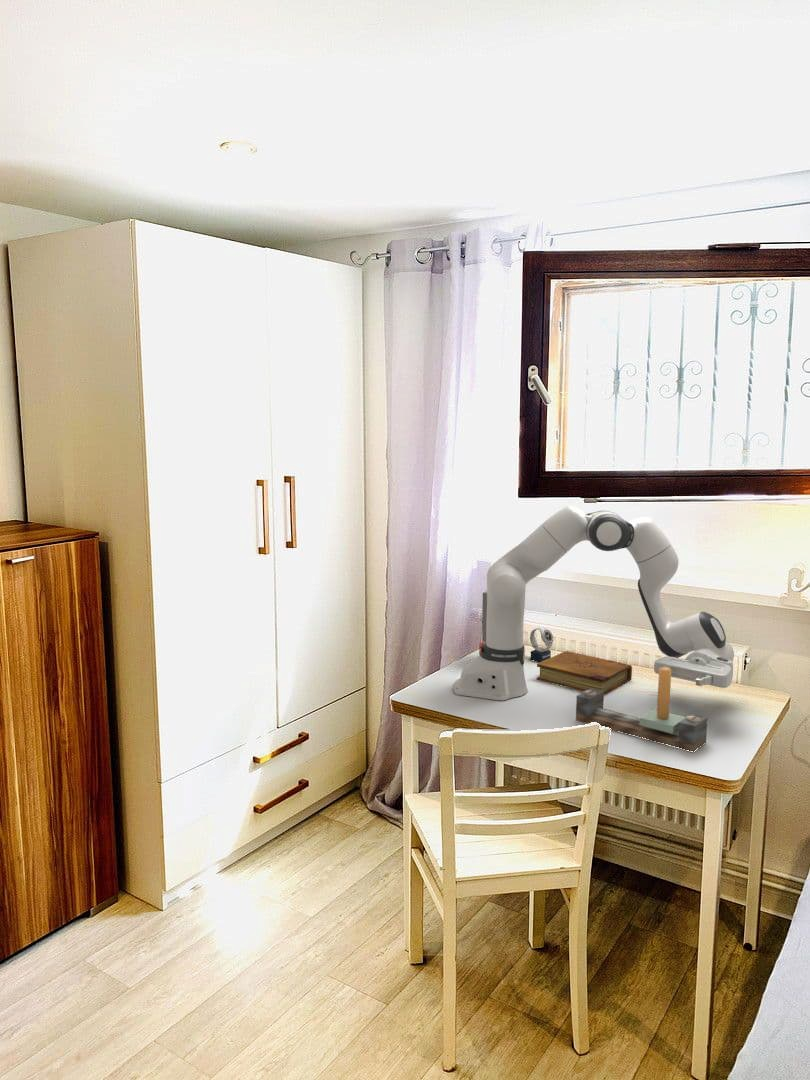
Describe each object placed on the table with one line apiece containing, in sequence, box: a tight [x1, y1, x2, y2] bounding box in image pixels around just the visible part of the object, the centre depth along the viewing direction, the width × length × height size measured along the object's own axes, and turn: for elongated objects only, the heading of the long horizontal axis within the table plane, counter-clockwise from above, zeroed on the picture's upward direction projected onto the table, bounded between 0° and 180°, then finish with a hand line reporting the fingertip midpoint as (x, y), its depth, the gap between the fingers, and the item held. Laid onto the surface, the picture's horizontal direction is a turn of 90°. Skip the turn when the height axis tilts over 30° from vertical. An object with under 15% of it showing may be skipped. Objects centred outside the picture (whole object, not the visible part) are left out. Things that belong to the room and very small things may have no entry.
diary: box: [536, 650, 633, 696], centre depth 259 cm, size 23×19×6 cm
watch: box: [529, 626, 554, 663], centre depth 278 cm, size 6×8×11 cm
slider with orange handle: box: [639, 667, 687, 734], centre depth 213 cm, size 9×8×15 cm
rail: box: [575, 688, 709, 753], centre depth 218 cm, size 33×8×8 cm, turn 49°
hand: (681, 679), depth 220 cm, fingers open, 8 cm apart
